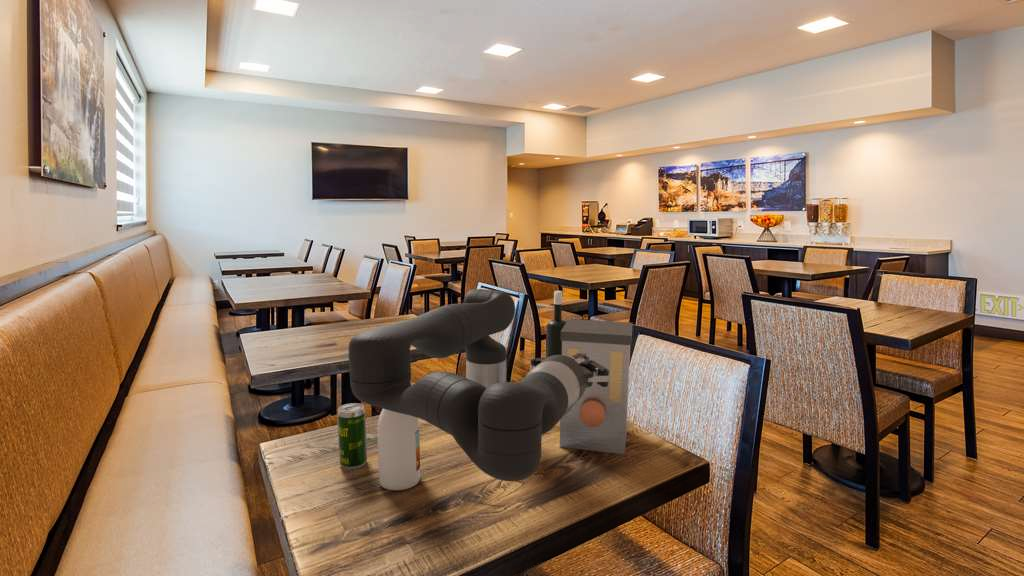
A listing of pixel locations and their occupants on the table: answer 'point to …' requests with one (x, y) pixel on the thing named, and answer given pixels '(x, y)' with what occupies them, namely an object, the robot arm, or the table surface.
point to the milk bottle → (398, 450)
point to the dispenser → (613, 353)
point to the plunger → (592, 413)
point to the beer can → (352, 436)
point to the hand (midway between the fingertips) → (581, 359)
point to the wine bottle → (555, 328)
